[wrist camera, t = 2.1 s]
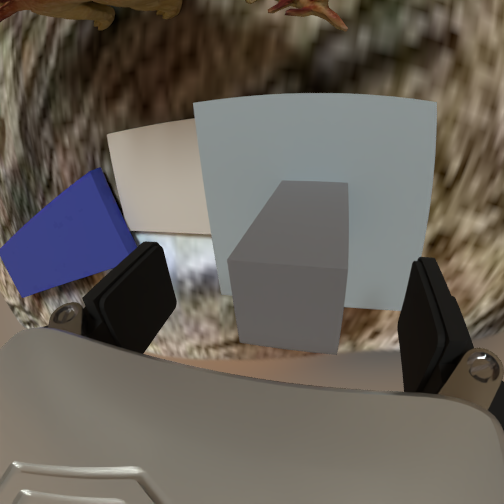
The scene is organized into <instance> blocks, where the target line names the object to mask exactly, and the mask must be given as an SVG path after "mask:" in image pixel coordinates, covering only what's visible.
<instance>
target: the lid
mask: <svg viewBox="0 0 504 504" xmlns="http://www.w3.org/2000/svg"><path fill="white" fill-rule="evenodd" d="M193 107H194V115H195V124H196V132H197V139H198V147H199V155H200V162H201V169H202V176H203V183H204V190H205V197H206V204H207V210H208V217H209V223H210V230H211V236H212V242H213V248H214V254H215V260H216V266H217V272H218V278H219V283H220V289H221V294H223V295H231V296H232V297H233V303H234V309H235V316H236V322H237V328H238V334H239V340H240V343H247V344H253V345H259V346H266V347H273V348H281V349H288V350H296V351H305V352H314V353H324V354H334V355H337V351H338V345H339V339H340V332H341V325H342V318H343V310H344V307H351V308H364V309H379V310H395V311H401V309H402V305H403V302H404V298H405V294H406V289H407V285H408V281H409V276H410V272H411V267H412V263H413V261H417V260H418V258H419V257H421V254H422V249H423V244H424V239H425V233H426V228H427V222H428V215H429V208H430V201H431V193H432V184H433V175H434V163H435V149H436V124H437V102H431V101H425V100H417V99H409V98H401V97H391V96H379V95H365V94H342V93H296V94H272V95H257V96H245V97H235V98H226V99H217V100H210V101H203V102H196V103H193Z"/></svg>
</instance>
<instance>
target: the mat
mask: <svg viewBox="0 0 504 504" xmlns="http://www.w3.org/2000/svg"><path fill="white" fill-rule="evenodd" d="M107 139H108V145H109V150H110V155H111V160H112V165H113V170H114V175H115V180H116V184H117V189H118V193H119V197H120V201H121V206H122V210H123V214H124V217H125V221H126V225H127V227H128V229H129V231H150V232H172V233H194V234H211V230H210V223H209V217H208V210H207V204H206V197H205V190H204V183H203V176H202V169H201V162H200V155H199V147H198V139H197V132H196V124H195V118H192V119H185V120H178V121H171V122H165V123H159V124H154V125H148V126H143V127H138V128H133V129H128V130H123V131H119V132H114V133H110V134H107Z"/></svg>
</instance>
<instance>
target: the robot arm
mask: <svg viewBox="0 0 504 504" xmlns="http://www.w3.org/2000/svg"><path fill="white" fill-rule="evenodd" d="M82 299H83V301H84V303H85V306H86V307H85V308H84V309H83V308H82V306H81V305H80V304H79V303H76V302H71V303H67V304H64V305H62V306H60V307H59V308H57V309H56V310H55V311H54V312H53V313H52V315H51V317H50V320H49V325H48V326H45V327H40V328H30V329H26V330H22V331H20V332H19V333H17V334H16V335H14V336H13V337H12V338H11V339H10V340H9V341H8V342H7V343H5V345H3V346H2V347H1V349H0V504H504V382H503V381H502V379H503V375H504V368H503V365H502V362H501V360H500V359H499V358H498V357H497V355H495V354H494V353H493V352H491V351H489V350H487V349H482V348H474V347H473V344H472V341H471V338H470V335H469V332H468V329H467V327H466V324H465V321H464V319H463V316H462V313H461V311H460V308H459V306H458V303H457V301H456V299H455V297H454V296H451V294H450V291H449V289H448V287H447V284H446V282H445V280H444V277H443V275H442V273H441V271H440V268H439V266H438V264H437V262H436V260H435V258H428V257H419V258H418V260H417V261H413V263H412V267H411V272H410V276H409V281H408V285H407V289H406V294H405V298H404V302H403V305H402V309H401V313H400V317H399V320H398V337H399V344H400V353H401V362H402V372H403V383H404V392H398V391H374V390H358V389H346V388H333V387H322V386H312V385H303V384H294V383H286V382H279V381H271V380H265V379H258V378H252V377H246V376H240V375H235V374H229V373H224V372H218V371H213V370H209V369H204V368H199V367H194V366H190V365H185V364H181V363H177V362H172V361H169V360H165V359H160V358H157V357H152V356H149V355H145V354H143V353H144V352H145V350H146V349H147V348H148V346H149V345H150V343H151V342H152V340H153V339H154V338H155V336H156V335H157V333H158V332H159V330H160V329H161V328H162V326H163V325H164V323H165V322H166V321H167V319H168V318H169V316H170V315H171V314H172V312H173V311H174V309H175V308H176V303H177V301H176V297H175V293H174V290H173V286H172V282H171V278H170V274H169V271H168V267H167V263H166V259H165V255H164V250H163V248H162V247H161V246H160V245H159V244H158V243H157V242H143V243H142V244H140V245H139V246H138V247H137V248H136V249H135V250H134V251H132V252H131V253H130V254H129V255H128V256H127V257H126V258H125V259H123V260H122V261H121V262H120V263H119V264H118V265H117V266H116V267H115V268H114V269H112V270H111V271H110V272H109V273H108V274H107V275H106V276H105V277H104V278H103V279H102V280H101V281H100V282H99V283H97V284H96V285H95V286H94V287H93V288H92V289H91V290H90V291H89V292H88V293H87V294H86V295H85V296H84V297H83V298H82Z"/></svg>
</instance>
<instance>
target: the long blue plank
mask: <svg viewBox="0 0 504 504" xmlns="http://www.w3.org/2000/svg"><path fill="white" fill-rule="evenodd" d="M136 248H137V245H136V243H135V241H134V239H133V237H132V235H131V233H130V231H129V229H128V227H127V225H126V222H125V220H124V218H123V216H122V214H121V212H120V210H119V208H118V205H117V203H116V201H115V199H114V197H113V194H112V192H111V190H110V188H109V185H108V183H107V181H106V178H105V176H104V174H103V171H102V169H101V167H100V168H97V169H95V170H92V171H90V172H88V173H87V174H86V175H84V176H83V177H82V178H80V179H79V180H78V181H76V182H75V183H74V184H72V185H71V186H70V187H69V188H67V189H66V190H65V191H64V192H62V193H61V194H60V195H59V196H57V197H56V198H55V199H54V200H53V201H51V202H50V203H49V204H48V205H47V206H45V207H44V208H43V209H42V210H41V211H40V212H38V213H37V214H36V215H35V216H34V217H33V218H32V219H31V220H30V221H28V222H27V223H26V224H25V225H24V226H23V227H22V228H21V229H20V230H19V231H18V232H17V233H16V234H15V235H14V236H13V237H11V238H10V239H9V240H8V241H7V242H6V243H5V244H4V245H3V246H2V247H1V248H0V256H1V258H2V260H3V262H4V264H5V266H6V268H7V270H8V272H9V274H10V276H11V278H12V280H13V282H14V284H15V286H16V287H17V289H18V291H19V293H20V295H21V296H22V298H23V297H26V296H29V295H32V294H35V293H38V292H41V291H44V290H47V289H50V288H53V287H56V286H59V285H62V284H65V283H68V282H71V281H74V280H77V279H80V278H84V277H87V276H90V275H93V274H96V273H99V272H102V271H105V270H109V269H112V268H115V267H116V266H117V265H118V264H119V263H120V262H121V261H122V260H123V259H125V258H126V257H127V256H128V255H129V254H130V253H131V252H132V251H134V250H135V249H136Z"/></svg>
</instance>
